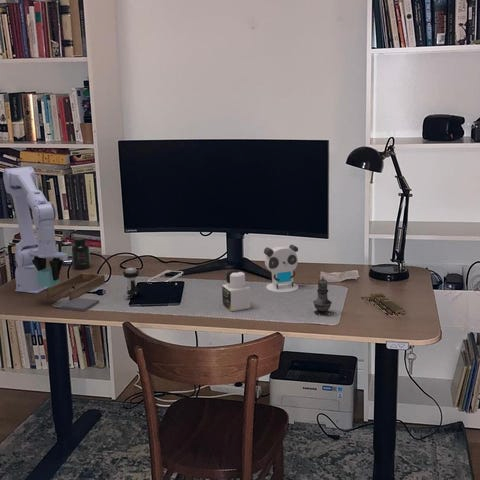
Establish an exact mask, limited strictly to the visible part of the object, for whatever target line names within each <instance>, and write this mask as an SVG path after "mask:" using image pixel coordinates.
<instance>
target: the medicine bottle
mask: <svg viewBox="0 0 480 480" xmlns="http://www.w3.org/2000/svg"><path fill="white" fill-rule="evenodd" d="M221 286H222V287H221V290H222V291H221V292H222V293H221V295H222V296H221V297H222V306H223V307H224V308H226V309H227V310H228V311H229V312H235V311H242V310H247V309H251V287H249V286H248V285H246V273H245V271H242V270H237V269H235V270H229V271H228V272H227V273H226V284H222V285H221Z"/></svg>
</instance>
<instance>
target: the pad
mask: <svg viewBox="0 0 480 480" xmlns="http://www.w3.org/2000/svg"><path fill="white" fill-rule="evenodd" d="M99 303H100V299H94V298H93V299H92V298H86V297H85V298H82V297H77V298H74V299H72V300H68V301H67V302H65V303H63V304H61V305H60V309H61V310H68V311H77V312H86V311H88V310H89V309H92V308H93V307H95V306H97V305H98V304H99Z"/></svg>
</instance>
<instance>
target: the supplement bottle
mask: <svg viewBox="0 0 480 480" xmlns="http://www.w3.org/2000/svg"><path fill="white" fill-rule="evenodd" d="M90 254H91V253H90V247H89V245H88V243H87V238H86V237H82V236H79V237H75V238H73V245H72V246H71V260H72V269H74V270H76V271H80V270H81V271H82V270H87V269H89V268H91V255H90Z"/></svg>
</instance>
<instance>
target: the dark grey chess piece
mask: <svg viewBox="0 0 480 480" xmlns="http://www.w3.org/2000/svg"><path fill="white" fill-rule="evenodd" d="M316 292H317V298H316V299H315V300H313V305H314V308H315V309H316V310H315V311H313V314H314V313H315V314H314V315H316V314H318V315H317V316H319V314H320V315H327V316H329V315H328V314H329V313H331V311H330V309H331V305H332V303H333V302H332V300H330V299H329V298H328V292H329V289H328V281H327V280H326V279H325V278H324V276H322V277H321V279H319V280H318V281H317V289H316ZM331 314H332V313H331Z"/></svg>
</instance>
